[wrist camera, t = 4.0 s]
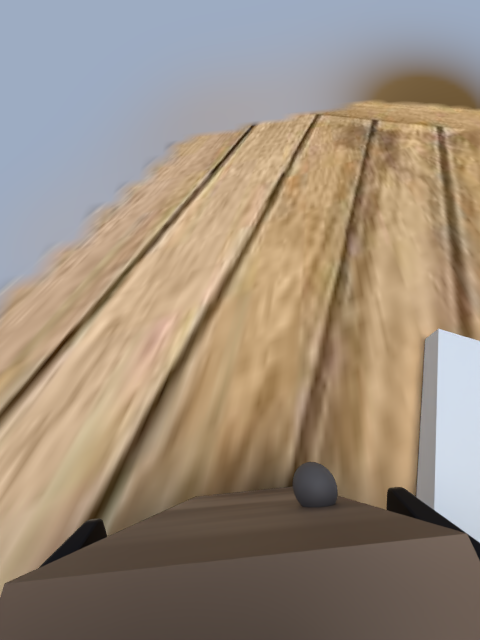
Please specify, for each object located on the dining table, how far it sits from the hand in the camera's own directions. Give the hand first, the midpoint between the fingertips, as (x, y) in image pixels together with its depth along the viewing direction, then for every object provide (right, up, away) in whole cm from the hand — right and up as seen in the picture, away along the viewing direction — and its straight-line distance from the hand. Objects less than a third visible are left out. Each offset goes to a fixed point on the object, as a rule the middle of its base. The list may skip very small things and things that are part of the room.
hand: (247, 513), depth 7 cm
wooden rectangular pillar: (0, -5, +5) cm, 7 cm away
